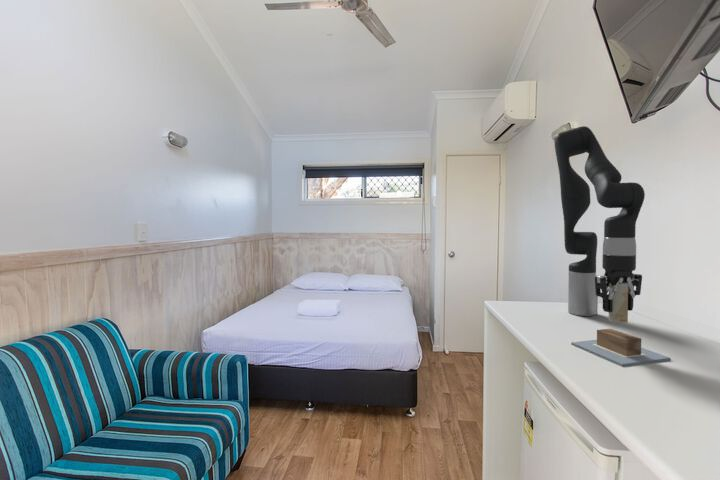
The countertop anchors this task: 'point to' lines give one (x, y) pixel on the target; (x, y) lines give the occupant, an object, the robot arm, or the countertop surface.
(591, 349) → the plate
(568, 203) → the robot arm
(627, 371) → the countertop surface
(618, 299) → the box
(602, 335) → the walnut slab
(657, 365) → the countertop surface
